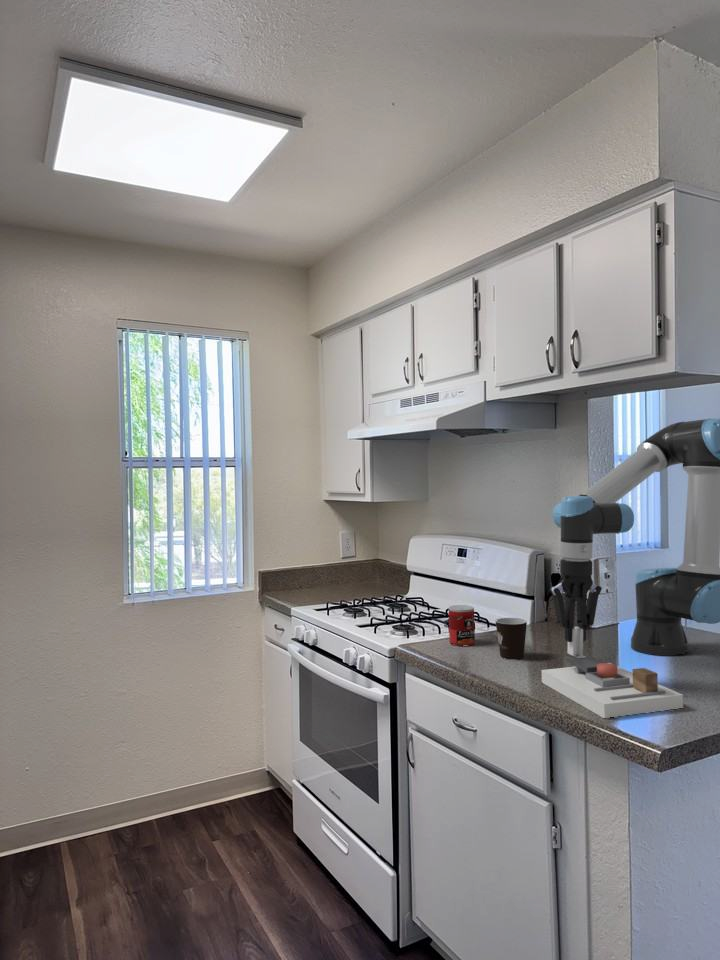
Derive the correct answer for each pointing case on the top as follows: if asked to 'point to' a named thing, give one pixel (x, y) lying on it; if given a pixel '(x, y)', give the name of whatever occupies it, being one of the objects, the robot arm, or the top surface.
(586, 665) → the tall dark grey panel
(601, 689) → the panel
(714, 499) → the robot arm
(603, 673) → the red button
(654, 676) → the slider knob
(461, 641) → the canned food
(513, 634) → the coffee mug
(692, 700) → the top surface
